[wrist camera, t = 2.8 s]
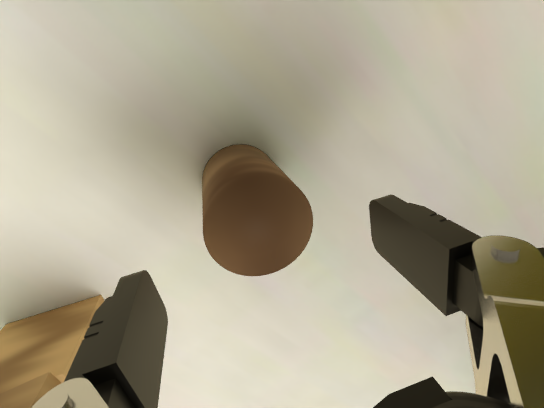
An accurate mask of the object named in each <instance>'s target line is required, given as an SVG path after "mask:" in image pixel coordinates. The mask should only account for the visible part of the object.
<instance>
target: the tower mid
mask: <svg viewBox="0 0 544 408" xmlns="http://www.w3.org/2000/svg"><path fill="white" fill-rule="evenodd" d="M59 384H61V382H60V381H59V380H58V379H57V378H56V377H55V376H54V375H53V374H52V373H51V372H48V373H45V374H43V375H41V376H39V377H36V378H34V379H32V380H30V381H28V382H25V383H23V384H21V385H19V386H17V387H14V388H12V389H10V390H8V391H6V392H3V393H1V394H0V408H31V407H32V406H33V405H34V404H35V403H36V402H37V401H38V400H39V399H40V398H41V397H42V396H44V395H45V394H46V393H47V392H48V391H50V390H51V389H53V388H54V387H56V386H57V385H59Z"/></svg>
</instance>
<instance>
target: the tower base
mask: <svg viewBox="0 0 544 408" xmlns="http://www.w3.org/2000/svg"><path fill="white" fill-rule="evenodd" d="M103 302H104V299H103V298H102V296H101V295H99V296H96V297H92V298H89V299H86V300H83V301H79V302H76V303H73V304H70V305H67V306H63V307H60V308H57V309H54V310H50V311H47V312H44V313H41V314H37V315H34V316H31V317H28V318H25V319H21V320H18V321H15V322H12V323H8V324H6V325H5V326H4V327H3V329H2V330H1V331H0V394H1V393H3V392H6V391H8V390H10V389H12V388H14V387H17V386H19V385H21V384H23V383H25V382H28V381H30V380H32V379H34V378H36V377H39V376H41V375H43V374H45V373H48V372H51V373H52V374H53V375H54V376H55V377H56V378H57V379H58V380H59V381H60V382H61V383H63V382H64V380H65V378H66V376H67V374H68V371H69V369H70V367H71V365H72V362H73V360H74V358H75V356H76V353H77V351H78V349H79V347H80V345H81V342H82V340H84V336H85V333H86V331H87V329H88V328H89V327H90V326H89V324H90V322H91V320H92V318H93V315H94V313H95V311H96V310H97V309H98V308H99V307H100V305H101V304H102V303H103Z"/></svg>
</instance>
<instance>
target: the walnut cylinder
mask: <svg viewBox="0 0 544 408" xmlns="http://www.w3.org/2000/svg"><path fill="white" fill-rule="evenodd" d="M202 200H203V236H204V241H205V245H206V247H207V250H208V252H209V253H210V255H211V256H212V258H213V259H214V260H215V261H216V262H217V263H218V264H219V265H220V266H222V267H223V268H225V269H227V270H229V271H231V272H233V273H236V274H239V275H245V276H261V275H267V274H271V273H274V272H276V271H279V270H281V269H283V268H285V267H286V266H288V265H289V264H290V263H292V262H293V261H294V260H295V259H296V258H297V257H298V256H299V255H300V254H301V253H302V251H303V250H304V249H305V247H306V245H307V243H308V241H309V239H310V236H311V233H312V227H313V215H312V210H311V206H310V204H309V201H308V200H307V198H306V196H305V195H304V194H303V192H302V191H301V190H300V189H299V188H298V187H297V186H296V185H295V184H294V183H293V182H292V181H291V180H290V179H289V178H288V177H287V176H286V175H285V174H284V172H283V171H282V170H281V169H280V168H279V167H278V166H277V165H276V164H275V163H274V162H273V161H272V160H271V159H270V158H269V157H268V156H267V155H266V154H265V153H264V152H262V151H261V150H259V149H258V148H256V147H253V146H250V145H243V144H237V145H231V146H228V147H225V148H223V149H221V150H219V151H218V152H216V153H215V154H214V155H213V156H212V157H211V158H210V160H209V161H208V163H207V164H206V166H205V169H204V172H203V177H202Z"/></svg>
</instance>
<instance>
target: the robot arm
mask: <svg viewBox="0 0 544 408" xmlns="http://www.w3.org/2000/svg"><path fill="white" fill-rule="evenodd" d="M369 210H370V223H371V235H372V241H373V244H374V247H375V249H376V250H377V252H378V253H379V254H380V255H381V256H382V257H383V258H384V259H385V260H386V261H387V262H389V263H390V264H391V265H392V266H393V267H394V268H395V269H396V270H397V271H398V272H399V273H400V274H401V275H403V276H404V277H405V278H406V279H407V280H408V281H409V282H410V283H411V284H412V285H413V286H414V287H415V288H416V289H418V290H419V291H420V292H421V293H422V294H423V295H424V296H425V297H426V298H427V299H428V300H429V301H430V302H431V303H433V304H434V305H435V306H436V307H437V308H438V309H439V310H440V311H441V312H442V313H443V314H444V315H445V316H447V315H450V314H453V313H455V312H458V311H463V312H464V313H465V314H466V329H467V335H468V341H469V347H470V354H471V360H472V366H473V372H474V378H475V390H476V394H473V393H467V392H445V391H444V390H443V389H442V387H441V386H440V385H439V384H438V383H437V381H436V380H435V379H434V378H433V377H430V378H428V379H426V380H423V381H421V382H418V383H416V384H413V385H411V386H408V387H406V388H403V389H401V390H398V391H396V392H393V393H391V394H389V395H388V396H386V397H385V398H384V399H383V400H382V401H380V402H379V403H378V404H377V405H376V406H374V407H373V408H544V248H536V247H535V246H533V245H532V244H530V243H528V242H526V241H523V240H521V239H517V238H513V237H508V236H486V237H480V236H478V235H476V234H474V233H473V232H471V231H469V230H467V229H465V228H463V227H461V226H460V225H458V224H456V223H454V222H452V221H450V220H447V219H446V218H445V217H443V216H441V215H439V214H438V215H437V214H436V213H435V212H434V211H432V210H430V209H428V208H426V207H424V206H420V205H416V204H412V203H407V202H405V201H403V200H401V199H399V198H398V197H396V196H394V195H388V196H385V197H381V198H378V199H375V200H372V201H371V202H370V204H369ZM167 325H168V318H167V312H166V309H165V306H164V303H163V301H162V299H161V297H160V295H159V293H158V291H157V289H156V287H155V285H154V283H153V281H152V279H151V277H150V275H149V273H148V272H147V271H146V270H143V271H140V272H137V273H134V274H131V275H127V276H124V277H121V278H120V280H119V282H118V285H117V287H116V290H115V292H114V295H113V296H111V297H108V298H107V299H106V300H105V301H104V302H103V303H102V304H101V305H100V307H99V308H98V309H97V310H96V311H95V313H94V315H93V318H92V320H91V322H90V324H89V326H90V327H89V328H88V329H87V331H86V333H85V336H84V340H82V342H81V345H80V347H79V349H78V351H77V353H76V356H75V358H74V360H73V362H72V365H71V367H70V369H69V371H68V374H67V376H66V378H65V380H64V382H63V383H61V384H59V385H57V386H56V387H54V388H53V389H51V390H50V391H48V392H47V393H46V394H45V395H44V396H42V397H41V398H40V399H39V400H38V401H37V402H36V403H35V404H34V405H33V406H32V407H31V408H157V407H158V399H159V391H160V383H161V375H162V366H163V358H164V350H165V342H166V334H167Z"/></svg>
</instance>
